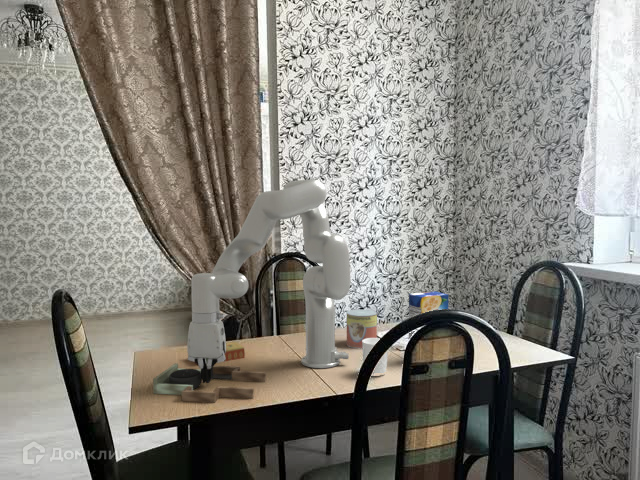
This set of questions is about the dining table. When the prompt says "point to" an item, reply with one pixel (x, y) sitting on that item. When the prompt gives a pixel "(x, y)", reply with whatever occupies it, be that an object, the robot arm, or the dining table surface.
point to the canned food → (360, 326)
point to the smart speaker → (186, 377)
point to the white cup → (367, 346)
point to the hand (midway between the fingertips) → (207, 381)
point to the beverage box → (426, 303)
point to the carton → (233, 351)
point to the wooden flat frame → (188, 394)
